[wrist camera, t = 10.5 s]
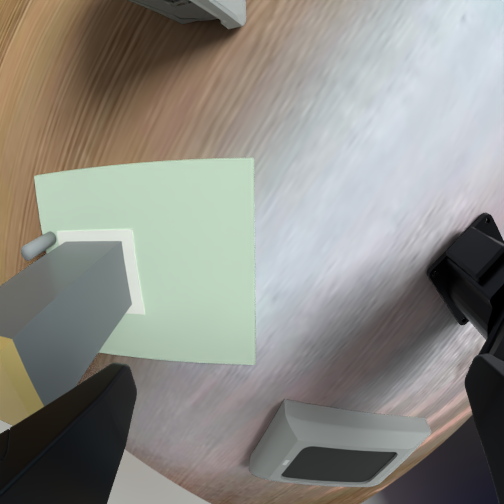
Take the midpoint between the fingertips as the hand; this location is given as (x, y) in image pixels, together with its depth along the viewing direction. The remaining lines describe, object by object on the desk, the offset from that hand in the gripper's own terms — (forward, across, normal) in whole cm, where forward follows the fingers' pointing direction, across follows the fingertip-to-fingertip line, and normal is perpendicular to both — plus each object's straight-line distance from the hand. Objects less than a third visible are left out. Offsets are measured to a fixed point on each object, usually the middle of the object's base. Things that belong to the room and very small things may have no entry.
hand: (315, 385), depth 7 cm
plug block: (+12, +12, +3) cm, 18 cm away
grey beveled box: (+14, -6, +21) cm, 26 cm away
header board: (+13, +9, +3) cm, 16 cm away
